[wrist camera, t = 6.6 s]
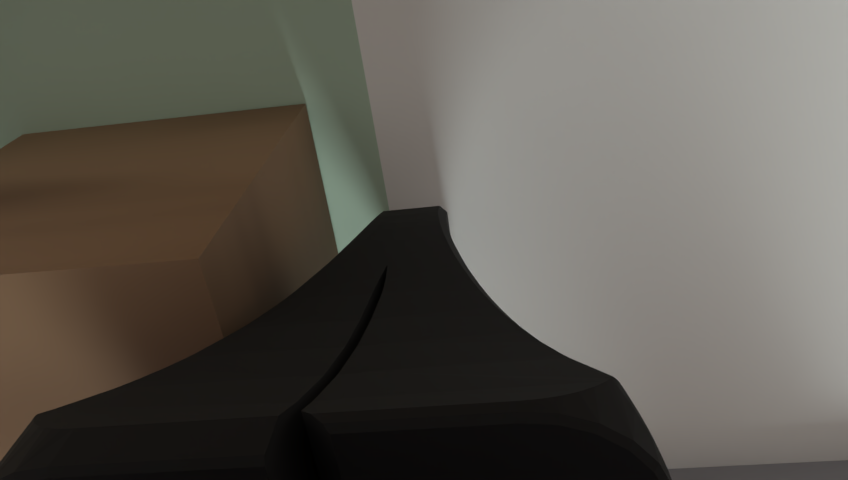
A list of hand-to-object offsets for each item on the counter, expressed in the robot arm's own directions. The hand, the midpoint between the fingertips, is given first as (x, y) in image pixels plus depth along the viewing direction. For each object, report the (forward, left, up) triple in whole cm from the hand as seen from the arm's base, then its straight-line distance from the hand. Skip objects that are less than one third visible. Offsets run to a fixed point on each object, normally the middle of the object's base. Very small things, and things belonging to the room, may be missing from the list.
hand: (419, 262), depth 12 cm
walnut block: (0, +4, -1) cm, 4 cm away
